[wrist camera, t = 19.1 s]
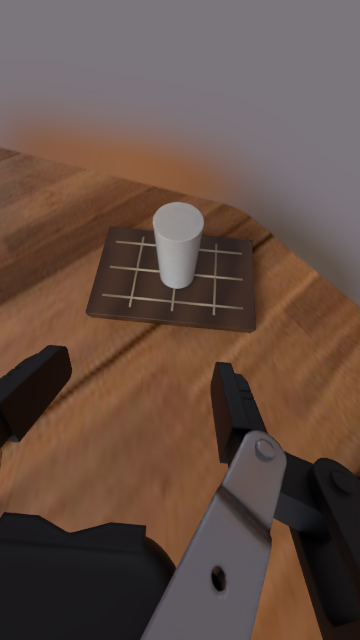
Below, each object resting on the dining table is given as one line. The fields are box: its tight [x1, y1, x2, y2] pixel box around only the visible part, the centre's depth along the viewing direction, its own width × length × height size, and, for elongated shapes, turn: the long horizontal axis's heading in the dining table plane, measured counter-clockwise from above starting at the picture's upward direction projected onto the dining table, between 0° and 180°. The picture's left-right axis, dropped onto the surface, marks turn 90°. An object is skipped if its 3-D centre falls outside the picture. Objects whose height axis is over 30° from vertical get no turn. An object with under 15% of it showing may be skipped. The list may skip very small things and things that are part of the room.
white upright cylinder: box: [153, 202, 204, 289], centre depth 19 cm, size 4×4×8 cm
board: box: [86, 227, 256, 333], centre depth 24 cm, size 20×13×2 cm, turn 85°
